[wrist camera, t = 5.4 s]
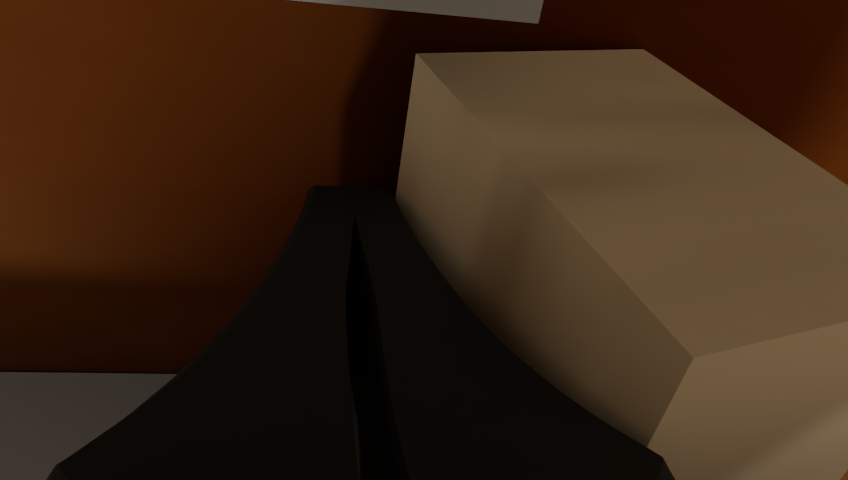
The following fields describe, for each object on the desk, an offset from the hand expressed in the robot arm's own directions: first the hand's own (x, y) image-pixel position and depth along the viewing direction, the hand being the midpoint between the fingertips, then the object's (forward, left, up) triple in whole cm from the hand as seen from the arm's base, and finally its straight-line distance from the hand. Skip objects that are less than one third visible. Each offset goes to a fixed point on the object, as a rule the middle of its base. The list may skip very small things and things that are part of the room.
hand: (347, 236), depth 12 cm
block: (0, -3, 0) cm, 3 cm away
